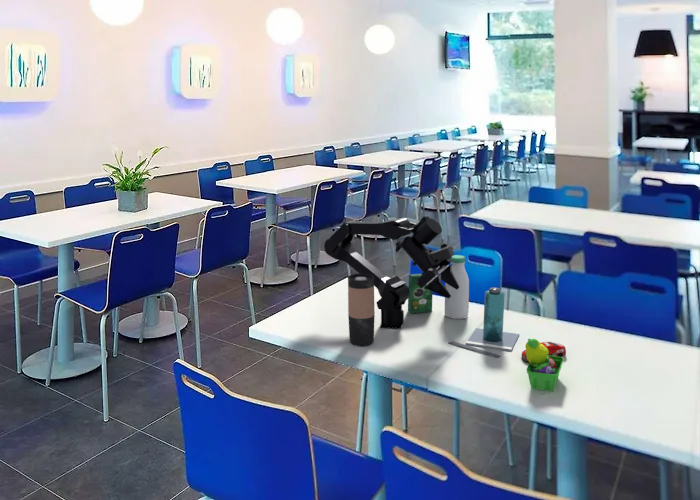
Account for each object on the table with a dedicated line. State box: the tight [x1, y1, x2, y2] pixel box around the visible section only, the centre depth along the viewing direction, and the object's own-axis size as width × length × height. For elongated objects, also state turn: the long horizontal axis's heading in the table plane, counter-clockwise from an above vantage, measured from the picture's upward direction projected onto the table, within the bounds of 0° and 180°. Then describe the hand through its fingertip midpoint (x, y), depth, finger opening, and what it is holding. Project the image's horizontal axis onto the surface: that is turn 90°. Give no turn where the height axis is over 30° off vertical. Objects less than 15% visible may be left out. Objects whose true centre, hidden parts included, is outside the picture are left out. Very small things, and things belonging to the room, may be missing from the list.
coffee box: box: [407, 273, 434, 314], centre depth 204 cm, size 8×3×13 cm, turn 107°
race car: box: [521, 341, 567, 363], centre depth 168 cm, size 13×5×4 cm, turn 111°
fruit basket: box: [525, 338, 565, 392], centre depth 153 cm, size 11×9×11 cm
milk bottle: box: [444, 254, 470, 320], centre depth 199 cm, size 8×8×20 cm
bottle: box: [482, 286, 506, 342], centre depth 179 cm, size 6×6×15 cm
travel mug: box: [347, 273, 376, 348], centre depth 179 cm, size 8×8×20 cm
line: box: [448, 340, 501, 359], centre depth 174 cm, size 16×2×1 cm, turn 47°
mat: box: [465, 327, 520, 352], centre depth 181 cm, size 13×13×1 cm
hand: (454, 292), depth 181 cm, fingers open, 9 cm apart
